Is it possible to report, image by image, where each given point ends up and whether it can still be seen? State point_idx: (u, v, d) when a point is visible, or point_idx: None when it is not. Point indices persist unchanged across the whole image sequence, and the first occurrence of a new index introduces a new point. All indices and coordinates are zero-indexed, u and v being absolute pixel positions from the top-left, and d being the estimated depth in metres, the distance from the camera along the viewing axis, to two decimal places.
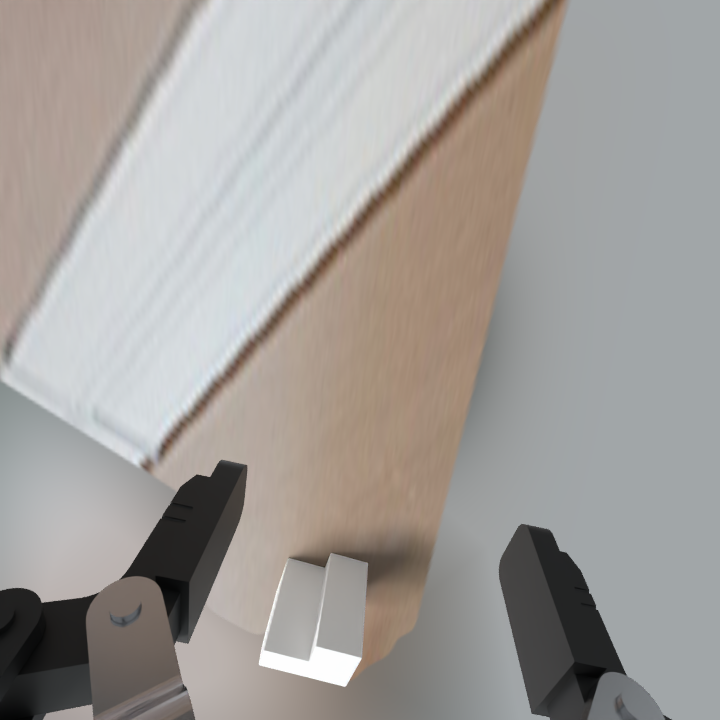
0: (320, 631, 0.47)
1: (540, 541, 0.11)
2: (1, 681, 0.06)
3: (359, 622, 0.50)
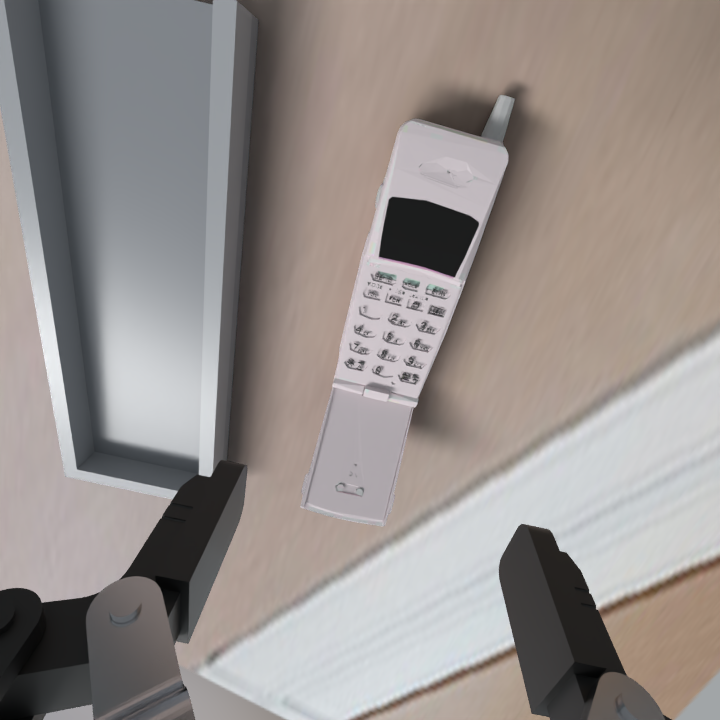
0: None
1: (540, 541, 0.11)
2: (1, 681, 0.06)
3: None
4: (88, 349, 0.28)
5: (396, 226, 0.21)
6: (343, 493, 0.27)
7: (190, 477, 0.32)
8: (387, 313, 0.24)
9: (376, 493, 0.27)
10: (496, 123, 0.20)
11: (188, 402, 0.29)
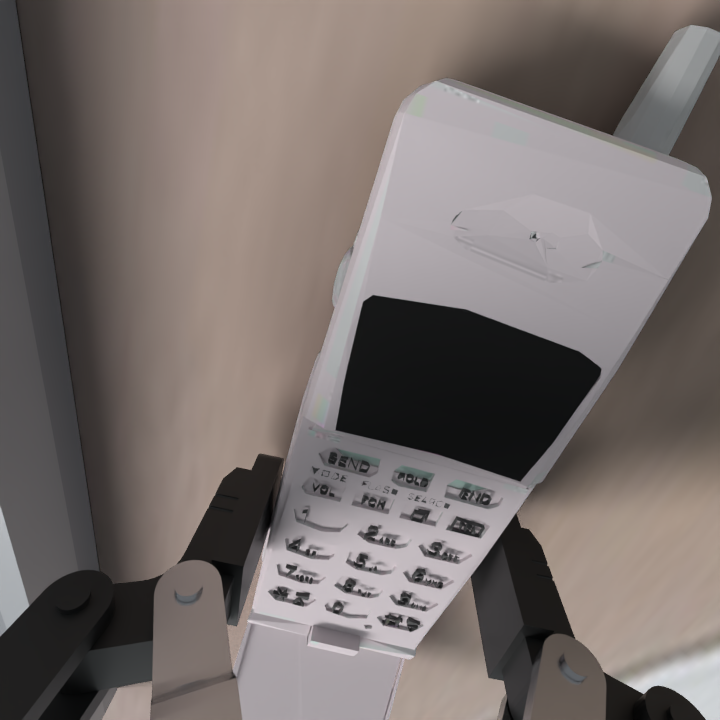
0: None
1: None
2: (72, 658, 0.07)
3: None
4: None
5: (382, 367, 0.08)
6: None
7: None
8: (357, 523, 0.11)
9: None
10: (664, 107, 0.07)
11: None
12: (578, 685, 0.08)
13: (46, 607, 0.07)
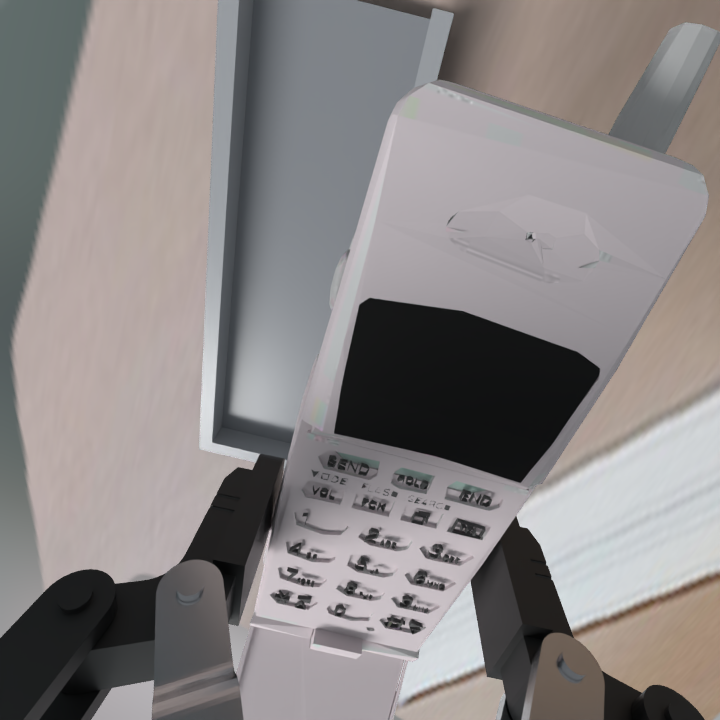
0: None
1: None
2: (73, 657, 0.07)
3: None
4: (234, 330, 0.30)
5: (379, 370, 0.08)
6: None
7: None
8: (357, 526, 0.11)
9: None
10: (659, 105, 0.07)
11: None
12: (576, 684, 0.08)
13: (48, 607, 0.07)
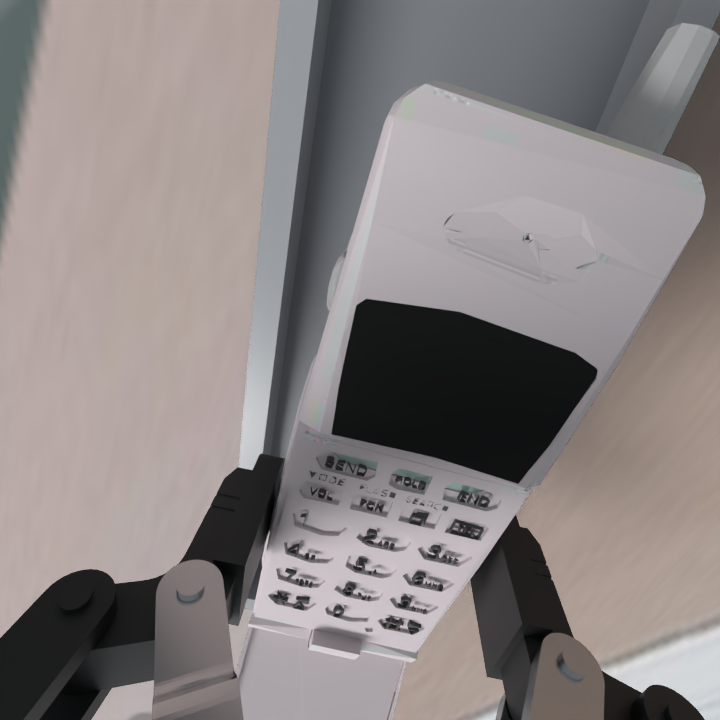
0: None
1: None
2: (74, 657, 0.07)
3: None
4: (280, 449, 0.20)
5: (376, 371, 0.08)
6: None
7: None
8: (356, 526, 0.11)
9: None
10: (657, 105, 0.07)
11: None
12: (576, 684, 0.08)
13: (48, 607, 0.07)
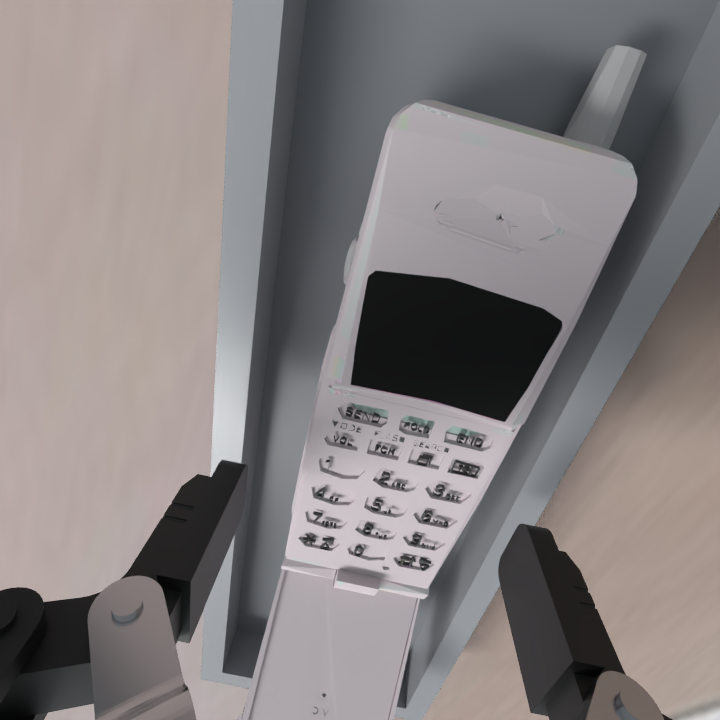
0: None
1: (539, 540, 0.11)
2: (3, 680, 0.06)
3: None
4: (260, 507, 0.17)
5: (385, 329, 0.10)
6: None
7: None
8: (372, 470, 0.13)
9: None
10: (601, 109, 0.09)
11: None
12: None
13: None
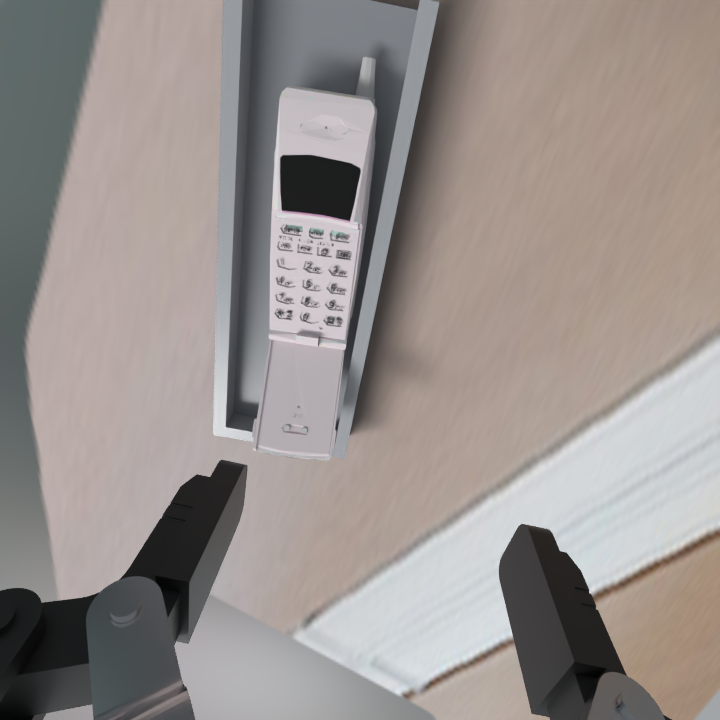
0: None
1: (540, 541, 0.11)
2: (1, 680, 0.06)
3: None
4: (244, 315, 0.31)
5: (291, 181, 0.24)
6: (290, 433, 0.30)
7: None
8: (302, 262, 0.27)
9: (319, 430, 0.30)
10: (364, 82, 0.23)
11: None
12: None
13: None
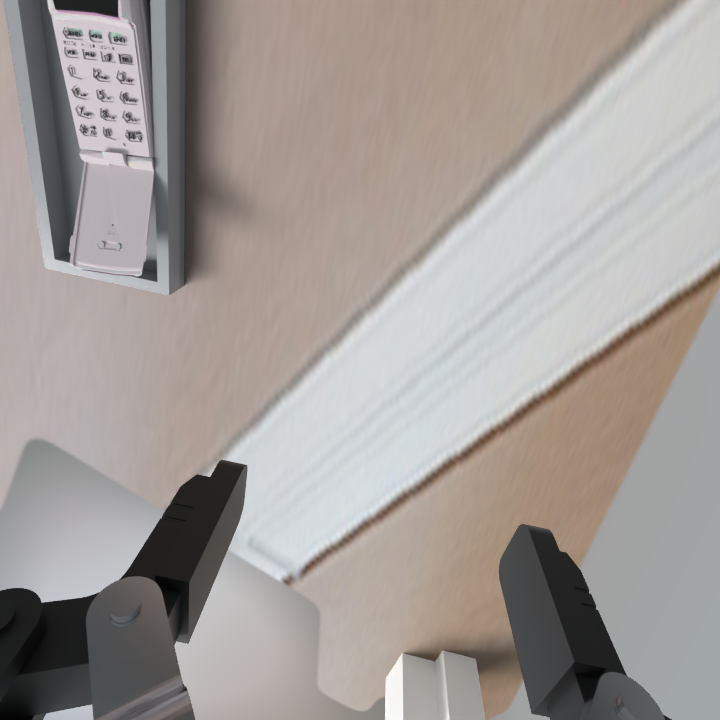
0: None
1: (540, 541, 0.11)
2: (1, 680, 0.06)
3: None
4: (62, 143, 0.33)
5: None
6: (105, 250, 0.32)
7: (152, 274, 0.37)
8: (90, 70, 0.29)
9: (132, 246, 0.32)
10: None
11: None
12: None
13: None
